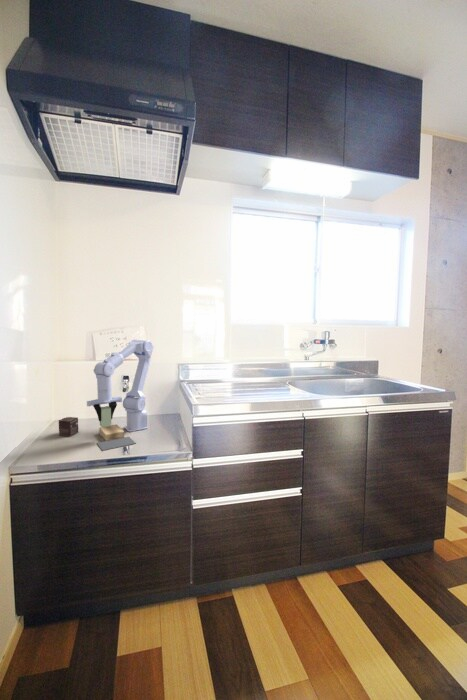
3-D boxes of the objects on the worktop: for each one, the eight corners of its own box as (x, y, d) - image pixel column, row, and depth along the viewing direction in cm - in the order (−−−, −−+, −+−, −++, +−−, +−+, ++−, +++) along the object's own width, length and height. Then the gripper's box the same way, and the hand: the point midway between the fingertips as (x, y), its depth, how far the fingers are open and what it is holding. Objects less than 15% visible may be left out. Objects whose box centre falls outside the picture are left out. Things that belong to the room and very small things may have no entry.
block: (109, 423, 151) (108, 406, 150) (111, 425, 147) (110, 408, 147) (99, 424, 148) (99, 407, 148) (101, 427, 145) (101, 409, 144)
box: (70, 436, 152) (69, 421, 152) (58, 435, 153) (58, 420, 153) (78, 432, 158) (78, 417, 157) (67, 431, 159) (67, 416, 159)
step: (116, 430, 162) (116, 424, 161) (124, 437, 152) (124, 431, 151) (99, 433, 157) (99, 427, 157) (106, 441, 147) (105, 434, 147)
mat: (129, 437, 152) (129, 436, 152) (136, 443, 145) (136, 443, 145) (96, 443, 144) (96, 442, 144) (102, 450, 137) (102, 450, 137)
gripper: (88, 393, 139) (89, 425, 140) (123, 389, 147) (124, 419, 148) (85, 390, 145) (86, 420, 146) (119, 386, 153) (120, 415, 154)
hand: (105, 419), depth 148 cm, fingers closed on block, 4 cm apart
